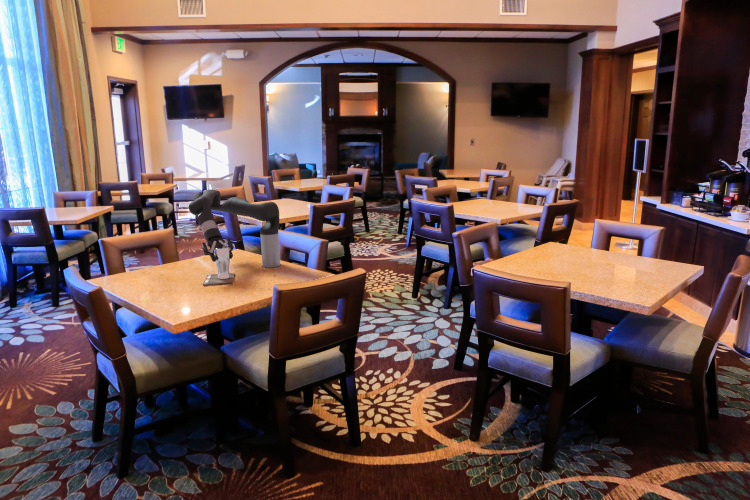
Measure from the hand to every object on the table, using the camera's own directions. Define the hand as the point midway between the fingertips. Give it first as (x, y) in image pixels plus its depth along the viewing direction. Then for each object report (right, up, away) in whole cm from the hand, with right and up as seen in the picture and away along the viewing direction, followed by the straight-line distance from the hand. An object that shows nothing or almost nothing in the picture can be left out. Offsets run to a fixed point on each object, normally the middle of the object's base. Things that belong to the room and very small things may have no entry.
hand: (223, 259), depth 256 cm
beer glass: (-1, -9, +4) cm, 10 cm away
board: (-3, -10, +3) cm, 11 cm away
